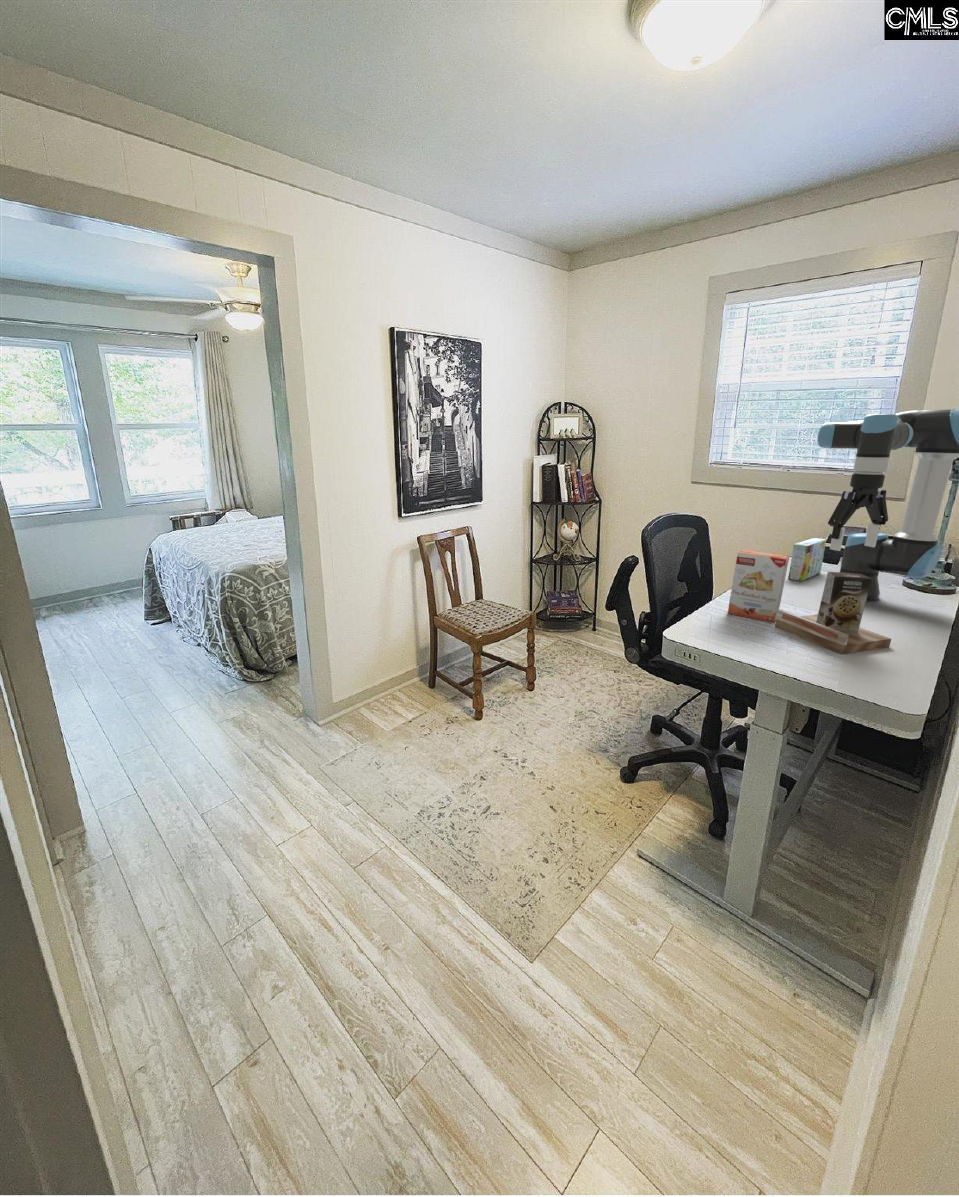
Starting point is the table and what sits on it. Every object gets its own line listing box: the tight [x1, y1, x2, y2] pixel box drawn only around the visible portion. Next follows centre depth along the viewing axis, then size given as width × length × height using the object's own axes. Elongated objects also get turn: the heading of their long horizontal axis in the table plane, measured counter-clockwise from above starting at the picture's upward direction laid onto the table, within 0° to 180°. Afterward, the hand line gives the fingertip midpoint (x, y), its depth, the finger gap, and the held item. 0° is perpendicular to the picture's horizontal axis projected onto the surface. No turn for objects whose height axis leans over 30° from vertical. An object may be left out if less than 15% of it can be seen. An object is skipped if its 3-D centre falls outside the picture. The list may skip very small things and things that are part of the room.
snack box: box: [787, 537, 827, 582], centre depth 219 cm, size 21×6×15 cm, turn 130°
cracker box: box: [727, 549, 790, 623], centre depth 168 cm, size 14×6×21 cm, turn 52°
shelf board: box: [774, 609, 892, 655], centre depth 154 cm, size 18×22×6 cm
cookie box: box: [816, 571, 871, 632], centre depth 152 cm, size 9×6×16 cm
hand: (852, 548), depth 152 cm, fingers open, 13 cm apart
